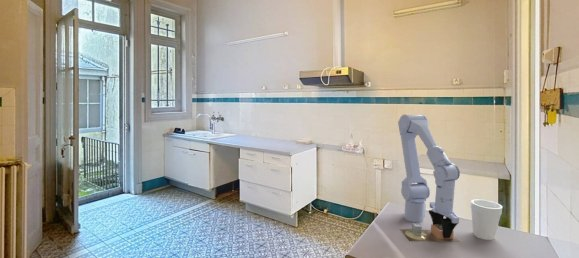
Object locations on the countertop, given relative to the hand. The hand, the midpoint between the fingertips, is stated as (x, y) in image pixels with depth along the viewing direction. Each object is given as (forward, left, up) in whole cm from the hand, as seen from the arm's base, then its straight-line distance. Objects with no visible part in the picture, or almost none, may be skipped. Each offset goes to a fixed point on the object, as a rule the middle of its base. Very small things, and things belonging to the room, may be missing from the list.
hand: (441, 233), depth 105 cm
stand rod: (0, 0, -2) cm, 2 cm away
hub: (+6, -7, -2) cm, 9 cm away
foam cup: (-10, +12, -2) cm, 16 cm away
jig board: (+3, -3, -2) cm, 5 cm away
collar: (0, 0, -1) cm, 1 cm away
